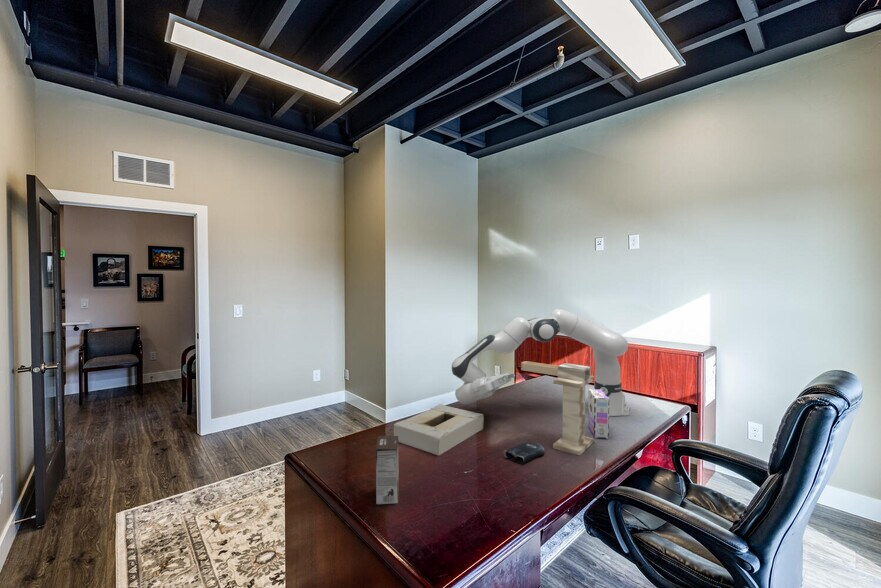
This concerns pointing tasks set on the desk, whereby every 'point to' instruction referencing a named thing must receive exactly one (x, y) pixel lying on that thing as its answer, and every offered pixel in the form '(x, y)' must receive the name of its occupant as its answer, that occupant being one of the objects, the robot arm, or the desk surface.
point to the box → (438, 428)
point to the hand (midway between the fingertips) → (508, 377)
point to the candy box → (598, 413)
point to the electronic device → (524, 452)
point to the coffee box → (387, 470)
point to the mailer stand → (573, 407)
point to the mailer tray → (539, 368)
